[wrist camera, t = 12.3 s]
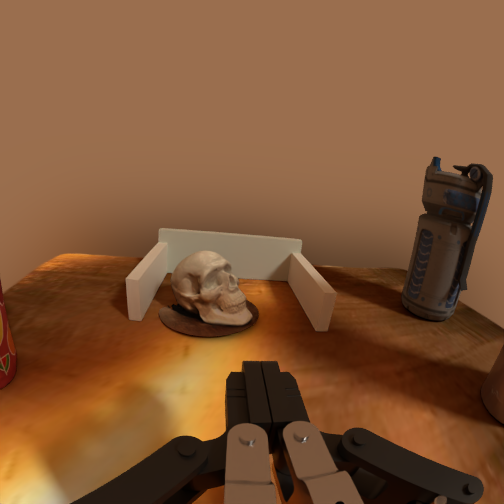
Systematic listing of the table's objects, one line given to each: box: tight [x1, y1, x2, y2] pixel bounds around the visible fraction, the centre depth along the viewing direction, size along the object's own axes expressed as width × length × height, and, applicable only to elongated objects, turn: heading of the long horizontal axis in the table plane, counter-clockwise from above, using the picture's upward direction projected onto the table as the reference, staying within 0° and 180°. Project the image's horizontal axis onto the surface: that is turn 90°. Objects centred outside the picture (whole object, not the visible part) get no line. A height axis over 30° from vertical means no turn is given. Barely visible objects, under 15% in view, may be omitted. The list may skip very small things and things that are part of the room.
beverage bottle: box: [401, 157, 493, 320], centre depth 34 cm, size 10×13×25 cm
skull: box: [159, 250, 259, 337], centre depth 32 cm, size 12×10×10 cm
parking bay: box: [126, 228, 337, 331], centre depth 37 cm, size 23×18×7 cm
